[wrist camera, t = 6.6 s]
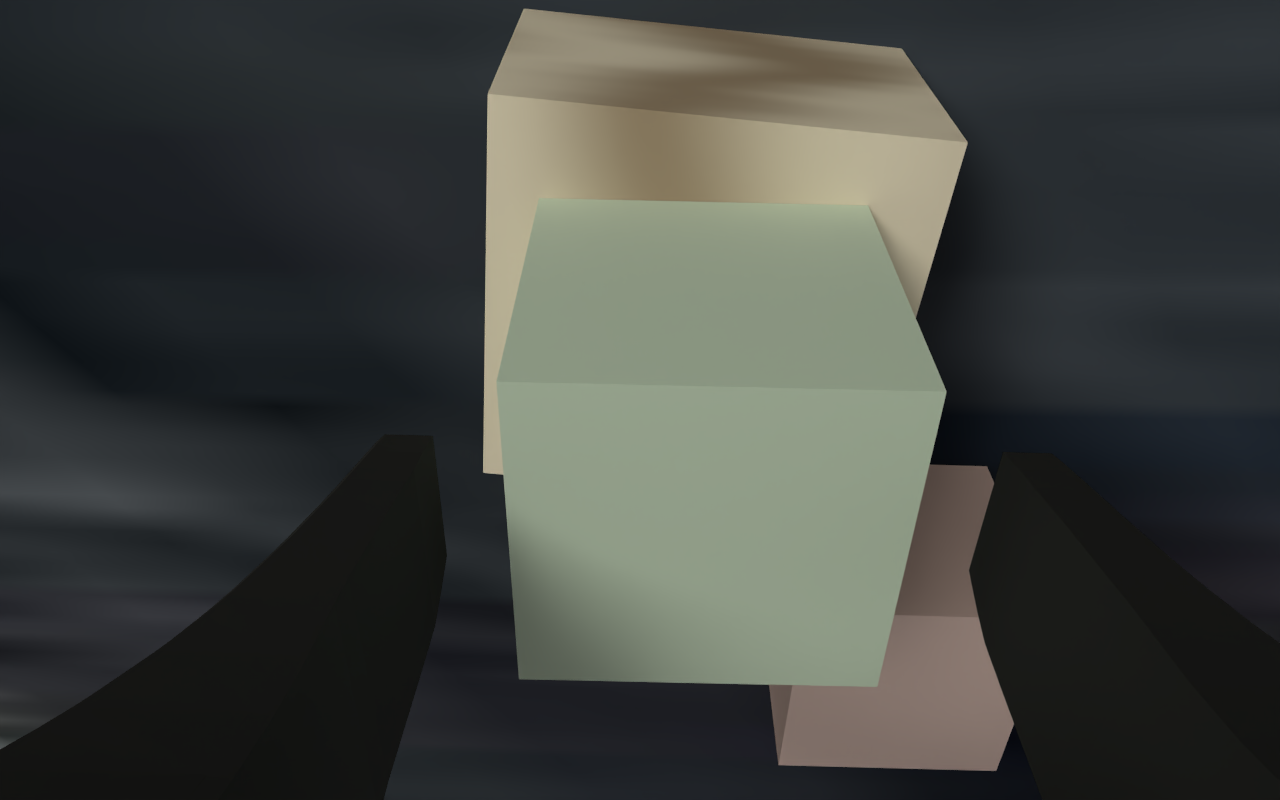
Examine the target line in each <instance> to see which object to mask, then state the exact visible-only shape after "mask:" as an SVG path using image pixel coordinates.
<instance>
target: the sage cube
mask: <svg viewBox="0 0 1280 800" xmlns="http://www.w3.org/2000/svg"><path fill="white" fill-rule="evenodd" d="M496 382H497V396H498V409H499V422H500V435H501V448H502V461H503V474H504V488H505V501H506V514H507V527H508V540H509V553H510V566H511V580H512V593H513V606H514V619H515V632H516V645H517V658H518V671H519V679H538V680H584V681H629V682H675V683H720V684H766V685H811V686H857V687H877V686H878V682H879V677H880V673H881V669H882V665H883V660H884V656H885V652H886V648H887V643H888V639H889V635H890V631H891V626H892V622H893V618H894V614H895V609H896V605H897V601H898V597H899V592H900V588H901V584H902V579H903V575H904V571H905V567H906V562H907V558H908V554H909V550H910V545H911V541H912V537H913V533H914V528H915V524H916V520H917V516H918V511H919V507H920V503H921V499H922V494H923V490H924V486H925V482H926V477H927V473H928V469H929V465H930V460H931V456H932V452H933V448H934V443H935V439H936V435H937V431H938V426H939V422H940V418H941V414H942V409H943V405H944V401H945V396H946V392H947V391H946V389H945V387H944V384H943V382H942V379H941V377H940V375H939V372H938V370H937V368H936V365H935V363H934V361H933V358H932V356H931V353H930V351H929V349H928V346H927V344H926V342H925V339H924V337H923V334H922V332H921V330H920V327H919V325H918V323H917V320H916V318H915V315H914V313H913V311H912V308H911V306H910V304H909V301H908V299H907V296H906V294H905V292H904V289H903V287H902V285H901V282H900V280H899V277H898V275H897V273H896V270H895V268H894V266H893V263H892V261H891V258H890V256H889V254H888V251H887V249H886V247H885V244H884V242H883V240H882V237H881V235H880V232H879V230H878V228H877V225H876V223H875V221H874V218H873V216H872V213H871V211H870V209H869V206H868V205H827V204H782V203H737V202H693V201H648V200H603V199H559V198H539V200H538V205H537V209H536V213H535V217H534V222H533V226H532V230H531V235H530V239H529V243H528V248H527V252H526V256H525V261H524V265H523V269H522V274H521V278H520V282H519V286H518V291H517V295H516V299H515V304H514V308H513V312H512V317H511V321H510V325H509V330H508V334H507V338H506V343H505V347H504V351H503V356H502V360H501V364H500V368H499V373H498V377H497V381H496Z"/></svg>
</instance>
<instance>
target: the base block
mask: <svg viewBox="0 0 1280 800" xmlns="http://www.w3.org/2000/svg"><path fill="white" fill-rule="evenodd" d="M967 143H968V142H967V141H966V139H965V138H964V136H963V135H962V134H961V132H960V131H959V129H958V128H957V126H956V125H955V124H954V122H953V121H952V119H951V118H950V117H949V115H948V114H947V112H946V111H945V109H944V108H943V107H942V105H941V104H940V102H939V101H938V100H937V98H936V97H935V95H934V94H933V92H932V91H931V90H930V88H929V87H928V85H927V84H926V83H925V81H924V80H923V78H922V77H921V75H920V74H919V73H918V71H917V70H916V68H915V67H914V66H913V64H912V63H911V61H910V60H909V58H908V57H907V56H906V54H905V53H904V51H903V50H902V49H900V48H891V47H882V46H872V45H863V44H853V43H844V42H834V41H825V40H815V39H806V38H796V37H787V36H778V35H768V34H759V33H749V32H740V31H730V30H721V29H711V28H702V27H692V26H683V25H674V24H664V23H655V22H645V21H636V20H626V19H617V18H607V17H598V16H588V15H579V14H570V13H560V12H551V11H541V10H532V9H524V10H523V12H522V14H521V17H520V19H519V21H518V24H517V26H516V29H515V31H514V33H513V36H512V38H511V40H510V43H509V45H508V47H507V50H506V52H505V54H504V57H503V59H502V61H501V64H500V66H499V69H498V71H497V73H496V76H495V78H494V80H493V83H492V85H491V87H490V90H489V92H488V117H487V202H486V286H485V370H484V455H483V473H492V474H503V461H502V448H501V435H500V422H499V409H498V396H497V382H496V381H497V377H498V373H499V368H500V364H501V360H502V356H503V351H504V347H505V343H506V338H507V334H508V330H509V325H510V321H511V317H512V312H513V308H514V304H515V299H516V295H517V291H518V286H519V282H520V278H521V274H522V269H523V265H524V261H525V256H526V252H527V248H528V243H529V239H530V235H531V230H532V226H533V222H534V217H535V213H536V209H537V205H538V200H539V198H559V199H603V200H648V201H693V202H737V203H782V204H827V205H868V206H869V209H870V211H871V213H872V216H873V218H874V221H875V223H876V225H877V228H878V230H879V232H880V235H881V237H882V240H883V242H884V244H885V247H886V249H887V251H888V254H889V256H890V258H891V261H892V263H893V266H894V268H895V270H896V273H897V275H898V277H899V280H900V282H901V285H902V287H903V289H904V292H905V294H906V296H907V299H908V301H909V304H910V306H911V308H912V311H913V313H914V315H915V318H916V316H917V312H918V309H919V306H920V302H921V299H922V296H923V292H924V289H925V285H926V282H927V279H928V275H929V272H930V268H931V265H932V262H933V258H934V255H935V252H936V248H937V245H938V241H939V238H940V235H941V231H942V228H943V225H944V221H945V218H946V214H947V211H948V208H949V204H950V201H951V198H952V194H953V191H954V187H955V184H956V181H957V177H958V174H959V170H960V167H961V164H962V160H963V157H964V154H965V150H966V147H967ZM503 475H504V474H503Z"/></svg>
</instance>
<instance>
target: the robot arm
mask: <svg viewBox="0 0 1280 800" xmlns="http://www.w3.org/2000/svg"><path fill="white" fill-rule="evenodd" d="M446 557H447V553H446V545H445V536H444V528H443V519H442V511H441V502H440V494H439V485H438V477H437V468H436V459H435V451H434V442H433V436H418V435H384V436H383V437H381V438H380V439H379V440H378V441H377V442H376V443H375V444H374V445H373V446H372V448H371V449H370V450H369V451H368V452H367V453H366V454H365V455H364V456H363V458H362V459H361V460H360V461H359V462H358V463H357V464H356V465H355V467H354V468H353V469H352V470H351V471H350V472H349V473H348V474H347V476H346V477H345V478H344V479H343V480H342V481H341V482H340V483H339V484H338V485H337V487H336V488H335V489H334V490H333V491H332V492H331V493H330V494H329V495H328V496H327V497H326V499H325V500H324V501H323V502H322V503H321V504H320V505H319V506H318V507H317V508H316V509H315V510H314V511H313V512H312V513H311V514H310V515H309V516H308V517H307V518H306V519H305V520H304V521H303V522H302V524H301V525H300V526H299V527H298V528H297V529H296V530H295V531H294V532H293V533H292V534H291V535H290V536H289V537H288V538H287V539H286V540H285V541H284V542H283V543H282V544H281V545H280V546H279V547H278V548H277V549H276V550H275V551H274V552H273V553H272V554H270V555H269V556H268V557H267V558H266V559H265V560H264V561H263V562H262V563H261V564H260V565H259V566H258V567H256V568H255V569H254V570H253V571H252V572H251V573H250V574H249V575H248V576H247V577H246V578H245V579H244V580H242V581H241V582H240V583H239V584H238V585H237V586H236V587H235V588H234V589H233V590H232V591H230V592H229V593H228V594H227V595H226V596H225V597H224V598H222V599H221V600H220V601H219V602H218V603H216V604H215V605H214V606H213V607H212V608H211V609H209V610H208V611H207V612H206V613H205V614H203V615H202V616H201V617H200V618H199V619H197V620H196V621H195V622H194V623H192V624H191V625H190V626H188V627H187V628H186V629H185V630H183V631H182V632H181V633H179V634H178V635H177V636H176V637H174V638H173V639H172V640H171V641H169V642H168V643H166V644H165V645H164V646H162V647H161V648H160V649H158V650H157V651H156V652H154V653H153V654H151V655H150V656H148V657H147V658H145V659H144V660H142V661H141V662H139V663H138V664H137V665H135V666H134V667H132V668H131V669H129V670H128V671H126V672H125V673H123V674H122V675H120V676H119V677H117V678H116V679H114V680H113V681H111V682H110V683H108V684H107V685H106V686H104V687H103V688H101V689H100V690H98V691H97V692H95V693H94V694H92V695H91V696H89V697H88V698H86V699H85V700H83V701H82V702H80V703H78V704H77V705H75V706H74V707H72V708H70V709H69V710H67V711H65V712H64V713H62V714H60V715H59V716H57V717H55V718H54V719H52V720H50V721H49V722H47V723H46V724H44V725H42V726H41V727H39V728H37V729H35V730H34V731H32V732H30V733H28V734H27V735H25V736H23V737H21V738H20V739H18V740H16V741H14V742H13V743H11V744H9V745H7V746H6V747H4V748H2V749H0V800H384V796H385V792H386V788H387V784H388V780H389V777H390V774H391V770H392V767H393V764H394V761H395V757H396V754H397V751H398V747H399V744H400V741H401V737H402V734H403V731H404V728H405V724H406V721H407V718H408V714H409V711H410V708H411V705H412V701H413V698H414V695H415V691H416V688H417V685H418V682H419V678H420V675H421V672H422V668H423V665H424V661H425V658H426V655H427V651H428V648H429V645H430V641H431V638H432V634H433V631H434V627H435V623H436V617H437V611H438V606H439V600H440V595H441V588H442V582H443V576H444V570H445V563H446ZM969 574H970V579H971V583H972V588H973V593H974V598H975V603H976V608H977V613H978V617H979V621H980V625H981V630H982V634H983V638H984V642H985V645H986V648H987V651H988V654H989V656H990V659H991V662H992V665H993V668H994V670H995V673H996V676H997V679H998V681H999V684H1000V687H1001V690H1002V692H1003V695H1004V698H1005V701H1006V703H1007V706H1008V709H1009V711H1010V714H1011V717H1012V719H1013V722H1014V725H1015V728H1016V730H1017V733H1018V736H1019V738H1020V741H1021V744H1022V746H1023V749H1024V752H1025V754H1026V757H1027V760H1028V762H1029V765H1030V768H1031V770H1032V773H1033V776H1034V779H1035V781H1036V784H1037V787H1038V789H1039V792H1040V795H1041V797H1042V800H1280V643H1278V642H1277V641H1276V640H1274V639H1273V638H1272V637H1270V636H1269V635H1267V634H1266V633H1265V632H1263V631H1262V630H1261V629H1259V628H1258V627H1256V626H1255V625H1254V624H1252V623H1251V622H1250V621H1249V620H1247V619H1246V618H1245V617H1243V616H1242V615H1241V614H1240V613H1238V612H1237V611H1236V610H1234V609H1233V608H1232V607H1231V606H1229V605H1228V604H1227V603H1225V602H1224V601H1223V600H1222V599H1220V598H1219V597H1218V596H1216V595H1215V594H1214V593H1213V592H1211V591H1210V590H1209V589H1207V588H1206V587H1205V586H1204V585H1203V584H1201V583H1200V582H1199V581H1198V580H1196V579H1195V578H1194V577H1193V576H1192V575H1190V574H1189V573H1188V572H1187V571H1186V570H1184V569H1183V568H1182V567H1181V566H1180V565H1178V564H1177V563H1176V562H1175V561H1174V560H1172V559H1171V558H1170V557H1169V556H1168V555H1167V554H1165V553H1164V552H1163V551H1162V550H1161V549H1160V548H1158V547H1157V546H1156V545H1155V544H1154V543H1153V542H1152V541H1150V540H1149V539H1148V538H1147V537H1146V536H1145V535H1144V534H1142V533H1141V532H1140V531H1139V530H1138V529H1137V528H1136V527H1135V526H1133V525H1132V524H1131V523H1130V522H1129V521H1128V520H1127V519H1126V518H1124V517H1123V516H1122V515H1121V514H1120V513H1119V512H1118V511H1117V510H1116V509H1114V508H1113V507H1112V506H1111V505H1110V504H1109V503H1108V502H1107V501H1105V500H1104V499H1103V498H1102V497H1101V496H1100V495H1099V494H1098V493H1097V492H1096V491H1094V490H1093V489H1092V488H1091V487H1090V486H1089V485H1088V484H1087V483H1085V482H1084V481H1083V480H1082V479H1081V478H1080V477H1079V476H1078V475H1076V474H1075V473H1074V472H1073V471H1072V470H1071V469H1070V468H1068V467H1067V466H1066V465H1065V464H1064V463H1063V462H1061V461H1060V460H1059V459H1058V458H1056V457H1055V456H1054V455H1053V454H1050V453H1015V452H1003V454H1002V458H1001V461H1000V465H999V468H998V472H997V475H996V479H995V482H994V485H993V489H992V492H991V496H990V499H989V503H988V506H987V509H986V513H985V516H984V520H983V523H982V527H981V530H980V534H979V537H978V540H977V544H976V547H975V551H974V554H973V558H972V561H971V565H970V568H969Z"/></svg>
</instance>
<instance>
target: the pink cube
mask: <svg viewBox="0 0 1280 800" xmlns="http://www.w3.org/2000/svg"><path fill="white" fill-rule="evenodd" d="M993 485H994V481H993V479H992V477H991V475H990V472H989V470H988V468H987V466H957V465H929V469H928V473H927V477H926V482H925V486H924V490H923V494H922V499H921V503H920V507H919V511H918V516H917V520H916V524H915V528H914V533H913V537H912V541H911V545H910V550H909V554H908V558H907V562H906V567H905V571H904V575H903V579H902V584H901V588H900V592H899V597H898V601H897V605H896V609H895V614H894V618H893V622H892V626H891V631H890V635H889V639H888V643H887V648H886V652H885V656H884V660H883V665H882V669H881V673H880V677H879V682H878V686H877V687H857V686H811V685H769V688H770V696H771V705H772V713H773V722H774V730H775V739H776V747H777V756H778V765H794V766H831V767H868V768H905V769H943V770H980V771H996V770H997V767H998V765H999V762H1000V759H1001V757H1002V754H1003V752H1004V749H1005V746H1006V744H1007V741H1008V738H1009V736H1010V733H1011V730H1012V728H1013V725H1014V722H1013V719H1012V717H1011V714H1010V711H1009V709H1008V706H1007V703H1006V701H1005V698H1004V695H1003V692H1002V690H1001V687H1000V684H999V681H998V679H997V676H996V673H995V670H994V668H993V665H992V662H991V659H990V656H989V654H988V651H987V648H986V645H985V642H984V638H983V634H982V630H981V625H980V621H979V617H978V613H977V608H976V603H975V598H974V593H973V588H972V583H971V579H970V574H969V568H970V565H971V561H972V558H973V554H974V551H975V547H976V544H977V540H978V537H979V534H980V530H981V527H982V523H983V520H984V516H985V513H986V509H987V506H988V503H989V499H990V496H991V492H992V489H993Z"/></svg>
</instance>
